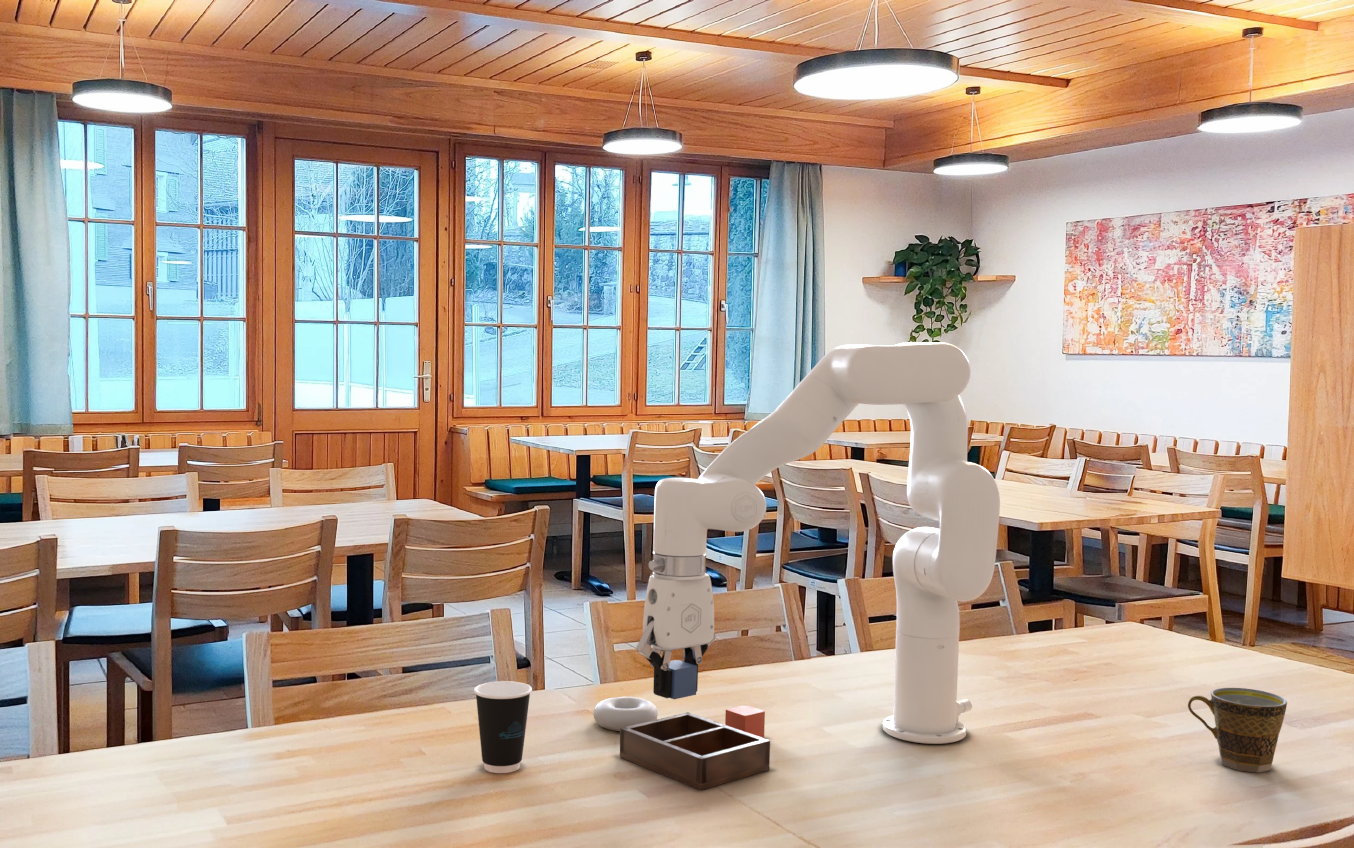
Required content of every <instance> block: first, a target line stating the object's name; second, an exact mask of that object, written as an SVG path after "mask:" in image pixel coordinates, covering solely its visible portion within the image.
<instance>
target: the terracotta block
mask: <svg viewBox="0 0 1354 848" xmlns="http://www.w3.org/2000/svg"><path fill="white" fill-rule="evenodd" d="M724 717H725V718H724V719H725V721H724V725H727V726H730V727H732V728H735V729H738V730H741V731H744V732H747V733H750V734H753V735H756V736H759V737H762V738H764V739H765V723H766V722H765V721H766V711H765V710H763V709H760V708H756V707H753V706H751V705H747V704H744V705H743V704H742V705H739V706H734V707H730V708H727V709H725V716H724Z"/></svg>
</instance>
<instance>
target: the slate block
mask: <svg viewBox="0 0 1354 848" xmlns="http://www.w3.org/2000/svg"><path fill="white" fill-rule="evenodd" d="M683 661H684V660H679V659H674V660H670V664H669V668H668V669H670V670H672V687H671V697H670V698H669V699H671V700H679V699H683V698H688V697H693V696H696V695H697V692H696V683H697V666H696V665H693V664H690V663H686V662H683Z"/></svg>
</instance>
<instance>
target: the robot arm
mask: <svg viewBox="0 0 1354 848" xmlns="http://www.w3.org/2000/svg"><path fill="white" fill-rule="evenodd" d="M971 372H972V371H971V364H970V361H969V359H968V357H967V355H966V354H965V353H964V352H963V350H962V349H960V348H959V347H958V346H956V345H954V344H951V343H948V342H924V341H923V342H920V341H911V342H901V343H898V344H893V345H882V344H881V345H879V344H877V345H875V344H843V345H839V346H836V347H833V348H832V349H831V350H829V351H827V352H826V353H825V354H824V356H823V357H822V358H821V359H819V361H818V362H817V363H816V364H815V365H814V367H812V368H811V370H810V371H809V372H808V373H807V374H806V375H805V376H804V378H802V380H801V381H800V382H799V383H798V384H797V385H796V386H795V387H794V388H793V389H792V391H791V392H790V393H789V394H788V395H787V396H786V397H785V398H784V399H783V401H782V402H780V404H779V405H778V406H777V407H776V408H775V409H774V410H773V411H772V412H771V413H770V414H768V415H766V417H764V418H762V419H761V420H759V421H758V422H757V423H755V424H754V425H753V426H752V427H751V428H749V429H748V430H747V431H745V432H744V433H742V434H741V435H739V436H738V437H737V438H735V439H734V440H733V441H732V442H730V443H729V444H728V445H727V446H726V447H725V448H724V449H723V450H722V451H721V452H720V453H719V454H718V455H717V456H716V457H715V458H714V460H713V461H712V462H711V463H710V464H709V465H708V466H707V467H706V468H705V470H704V471H703V472H701V474H700V475H699V477H698V478H690V477H666V478H662V479H660V480H659V481H658V482H657V483H656V485H655V489H654V507H653V509H654V510H653V541H652V542H653V544H652V560H650V561H648V568H649V570H650V571H652V575H650V576H649V578H648V582H647V588H646V593H645V598H644V599H645V600H644V607H643V616H642V617H643V621H642V635H641V637H640V640H639V641H638V643H637V645H636V648H635V651H636V652H638V653H639V654H640V655H642V656H643V657H645V658H644V659H646V660H647V661H648V662H649V665H650V667H652V668H653V688H652V689H653V690H652V691H653V694H654V695H655V696H658V697H661V698H664V699H671V698H670V697H671V687H672V670H670V669H668V668H669V664H670V661H671V659H672V653H673V651H676V650H681V651H682V657H683V660H682V661H683V662H686V663H690V664H693V665H696V666H697V683H696V693H697V692H698V683H699V665H700V664H702V662H703V656H704V655H705V653H707V650H708V648H709V647H711V645H712V644H713V643H714V642H715V640H716V638H717V636H716V633H715V607H714V606H715V605H714V593H713V586H712V580H711V576H710V574H709V573H706V571H707V544H708V543H707V540H708V539H707V538H708V530H716V531H717V530H718V531H725V532H733V533H741V532H746V531H749V530H751V529H754V528H755V527H757V526H758V525H759V524H760V523H761V522H762V521H763V519H764V517H765V516H766V513H767V500H766V497H765V495H764V493H763V491H762V490H761V489H760V488H759V487H758V486H757V485H756V484H758V483H759V482H760V481H761V480H762V479H763V478H765V477H766V476H768V475H769V474H770V473H772V472H773V471H775V470H777V469H778V468H780V467H782V466H784V465H787V464H790V463H793V462H795V461H799V460H802V459H804V458H807V457H808V456H810V455H813V454H814V453H815V452H817V451H818V450H819V449H820V448H821V447H822V446H823V445H824V443H825V442H826V441H827V440H828V439H829V438H830V437H831V435H832V434H833V433H834V432H835V431H836V430H837V429H838V428H839V427H840V425H841V424H842V423H843V422H844V421H845V420H846V419H847V417H848V416H849V415H850V414H851V413H852V412H853V411H854V410H855V409H856V407H857V406H858V405H859V404H861V405H872V406H873V405H874V406H875V405H876V406H880V405H881V406H889V405H891V406H892V405H893V406H894V405H895V406H896V405H903V407H904V409H905V410H906V412H907V415H908V418H909V424H910V447H909V460H908V471H907V483H906V498H907V499H906V500H907V502H908V505H909V506H910V508H911V510H913V511H914V512H915V513H916V514H917V515H920V516H922V517H924V518H926V519H929V520H933V521H937V522H939V528H937V527H932V526H920V527H919V526H918V527H914V528H912V529H910V530H908V531H906V532H905V533H904V534H902V535H901V536H900V538H898V540H897V542H896V544H895V546H894V549H893V553H892V572H893V573H892V575H893V579H894V587H895V597H896V625H895V646H894V647H895V651H894V676H893V677H894V678H893V679H894V681H893V707H892V709H893V710H892V715H889V716H887V717H886V718H884V719H883V720H882V730H883V731H884V733H886V734H887V735H889V736H890V737H893V738H895V739H898V740H902V741H906V742H912V743H917V744H919V743H920V744H930V745H938V744H939V745H941V744H942V745H943V744H950V743H955V742H958V741H961V740H963V739H965V738H966V735H967V727H966V725H965V724H963V723H962V722H961V721H959V717H960V716H961V714H964V713H968V712H970V711H972V709H973V704H972V702H971V701H970V699H967V698H966V699H962V700H958V680H959V679H958V678H959V675H958V674H959V653H960V651H959V650H960V632H961V631H960V629H961V628H960V627H961V624H960V623H961V620H960V619H961V618H960V609H959V603H958V602H971V601H974V600H976V599H978V598H979V597H981V596H982V595H983V594H984V593H985V592H986V591H987V590H988V588H989V586H990V584H991V582H992V579H993V576H994V573H995V568H996V567H995V566H996V558H997V548H998V536H999V523H1000V512H1001V510H1000V509H1001V498H1000V497H1001V496H1000V492H999V487H998V485H997V484H998V483H997V482H996V480H995V478H994V476H993V475H992V473H991V472H990V471H989V470H988V469H986V468H985V467H984V466H982V465H980V464H977V463H975V462H971V461H968V441H969V440H968V439H969V438H968V437H969V436H968V435H969V423H968V416H967V412H966V409H965V406H964V403H963V401H962V398H961V396H960V395H961V394H962V393H963V392H964V391H965V389H966V388H967V386H968V384H969V383H970V379H971Z"/></svg>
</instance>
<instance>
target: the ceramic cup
mask: <svg viewBox="0 0 1354 848" xmlns="http://www.w3.org/2000/svg"><path fill="white" fill-rule="evenodd" d="M1210 696H1211V697H1210V699H1209V698H1207V697H1206V696H1203V695H1194V696H1192V697H1191V698H1189V700H1188V702H1187V708H1188V711H1189V712H1190V713H1191V715H1193V717H1195V718H1196V719H1198V720H1199V722H1201V723H1202V724H1203V725H1204V727H1206V729H1208V730H1209V731H1210V732H1211V733H1212V735H1213V737H1214V738H1215V740H1216V742H1217V745H1218V751H1219V752H1218V753H1219V759H1220V762H1221V765H1222V766H1225V767H1227V768H1230V769H1233V770H1235V771H1238V772H1239V771H1241V772H1248V773H1263V772H1268V771H1271V769H1272V764H1273V761H1274V756H1275V752H1276V748H1277V744H1278V740H1279V735H1280V733H1281V730H1282V728H1283V727H1282V726H1283V723H1284V719H1285V715H1286V711H1287V705H1288V701H1287V699H1286V698H1284V697H1282V696H1280V695H1278V694H1275V693H1272V692H1268V691H1264V690H1260V689H1253V688H1245V687H1219V688H1215V689H1212V690H1211V691H1210ZM1194 701H1201V702H1203V703H1204V704H1205V705H1207V706H1208V709H1209V710H1210V712H1211V713H1212V715H1213V718H1214V724H1215V726H1214V727H1211V726H1210V725H1209V724H1208V723H1207V722H1206V721H1205V720H1204V719H1203V718H1202V717H1201V716H1200V715H1199V714H1198V713H1196V712H1195V711H1194V710H1193V709H1192V703H1193V702H1194Z"/></svg>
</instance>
